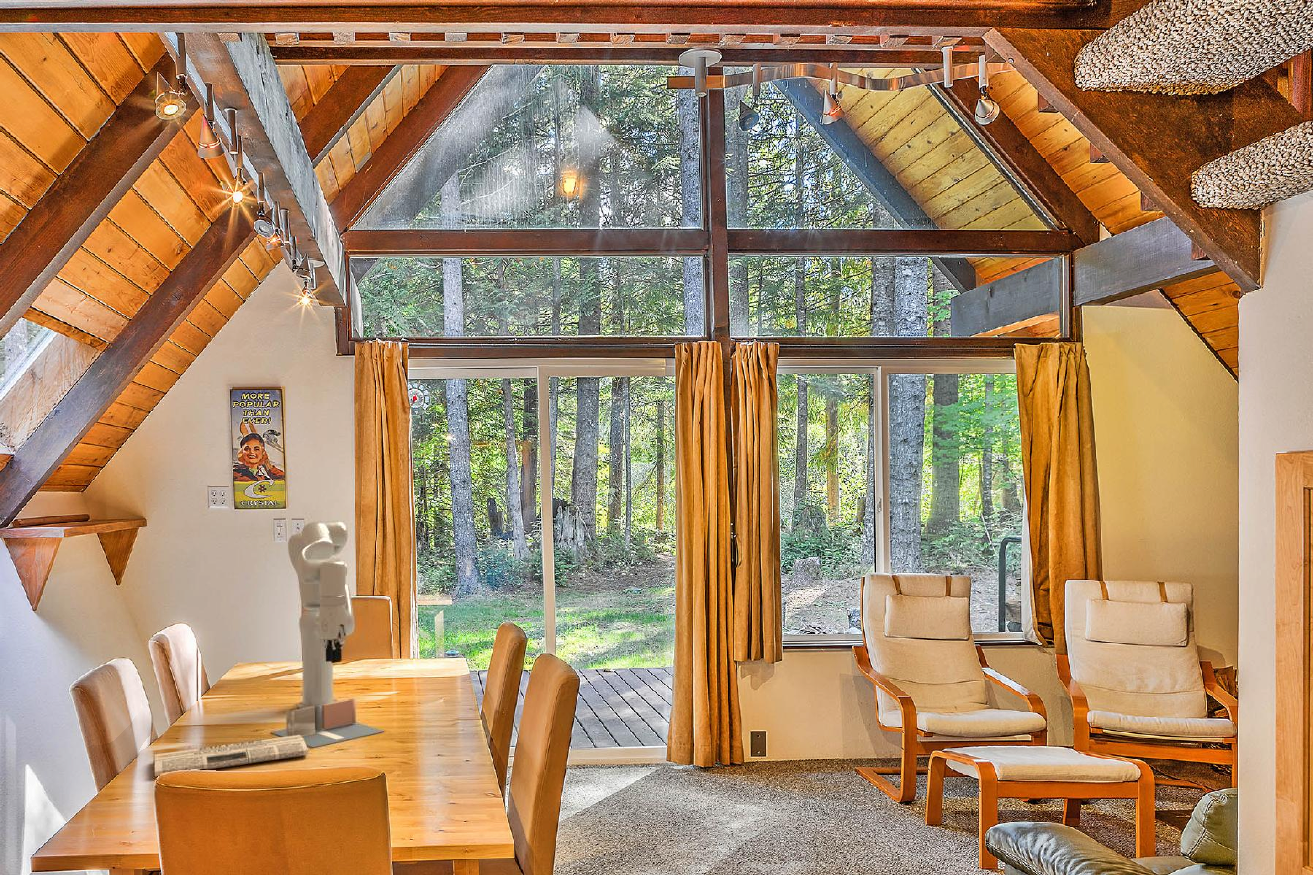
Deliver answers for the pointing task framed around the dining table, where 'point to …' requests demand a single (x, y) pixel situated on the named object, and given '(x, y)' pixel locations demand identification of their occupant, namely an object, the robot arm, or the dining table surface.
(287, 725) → the fence fixed
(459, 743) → the dining table surface
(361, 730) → the card
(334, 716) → the fence panel
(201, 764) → the newspaper
